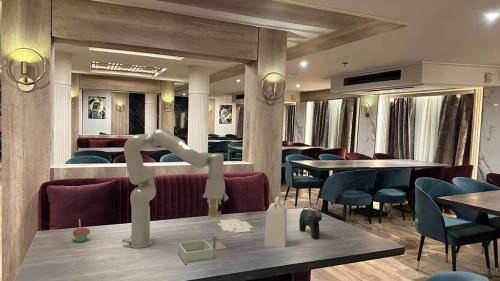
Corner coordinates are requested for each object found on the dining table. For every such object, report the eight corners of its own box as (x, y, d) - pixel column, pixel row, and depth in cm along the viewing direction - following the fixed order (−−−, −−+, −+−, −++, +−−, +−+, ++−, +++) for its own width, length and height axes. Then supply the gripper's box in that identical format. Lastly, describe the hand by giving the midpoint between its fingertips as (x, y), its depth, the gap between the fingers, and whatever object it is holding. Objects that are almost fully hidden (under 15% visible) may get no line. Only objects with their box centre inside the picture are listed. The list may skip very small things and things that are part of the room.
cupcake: (69, 241, 185) (69, 219, 184) (83, 236, 192) (83, 216, 192) (79, 244, 181) (79, 222, 180) (93, 239, 188) (93, 218, 188)
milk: (284, 247, 185) (286, 200, 184) (264, 245, 188) (265, 199, 186) (286, 240, 197) (288, 196, 196) (267, 238, 199) (268, 194, 198)
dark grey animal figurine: (322, 239, 199) (323, 206, 199) (312, 240, 197) (314, 207, 196) (304, 229, 218) (305, 199, 217) (296, 230, 216) (297, 199, 215)
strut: (217, 217, 176) (217, 197, 175) (208, 216, 178) (208, 196, 177) (220, 215, 181) (221, 195, 180) (212, 214, 182) (212, 194, 182)
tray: (242, 219, 238) (242, 214, 238) (257, 233, 212) (257, 228, 212) (214, 222, 231) (214, 216, 231) (225, 236, 205) (226, 230, 204)
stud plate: (208, 253, 173) (208, 240, 173) (202, 246, 182) (202, 235, 182) (226, 250, 178) (226, 238, 177) (219, 244, 187) (219, 232, 186)
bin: (185, 265, 158) (185, 252, 157) (177, 254, 170) (178, 243, 170) (213, 260, 164) (213, 248, 164) (204, 250, 176) (204, 239, 176)
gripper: (198, 176, 177) (197, 210, 178) (228, 179, 172) (226, 214, 173) (204, 174, 184) (203, 207, 185) (233, 177, 179) (232, 210, 180)
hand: (214, 210), depth 179 cm, fingers closed on strut, 5 cm apart
